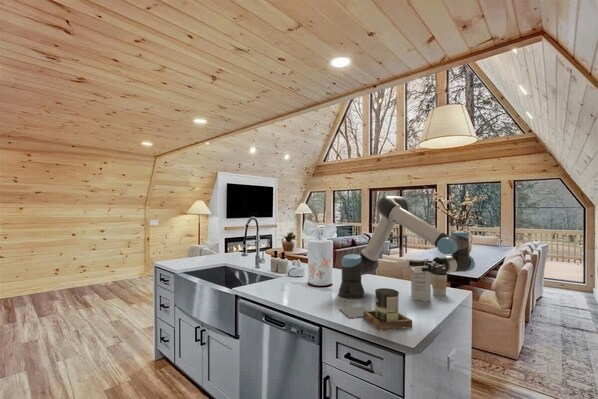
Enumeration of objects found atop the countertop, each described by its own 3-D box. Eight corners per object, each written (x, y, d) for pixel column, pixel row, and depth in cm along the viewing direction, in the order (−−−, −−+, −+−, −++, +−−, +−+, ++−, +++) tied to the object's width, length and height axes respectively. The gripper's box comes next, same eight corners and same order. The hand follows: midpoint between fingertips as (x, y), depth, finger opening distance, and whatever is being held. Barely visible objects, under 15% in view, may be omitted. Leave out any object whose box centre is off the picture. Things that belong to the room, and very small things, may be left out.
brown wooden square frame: (363, 317, 143) (363, 311, 143) (392, 315, 147) (392, 308, 147) (380, 330, 128) (380, 323, 128) (412, 327, 132) (412, 320, 132)
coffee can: (374, 325, 134) (374, 293, 135) (375, 317, 144) (375, 287, 144) (399, 328, 131) (399, 295, 132) (398, 319, 141) (398, 289, 141)
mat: (338, 309, 155) (338, 308, 155) (362, 307, 158) (362, 306, 158) (349, 318, 142) (349, 317, 142) (374, 316, 145) (374, 314, 145)
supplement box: (431, 301, 169) (431, 270, 170) (413, 300, 171) (413, 270, 172) (427, 296, 179) (427, 267, 179) (411, 295, 180) (410, 266, 181)
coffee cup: (446, 297, 177) (446, 271, 177) (430, 295, 181) (429, 269, 182) (448, 293, 184) (448, 268, 185) (432, 291, 189) (432, 267, 190)
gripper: (464, 278, 134) (423, 281, 129) (426, 267, 158) (390, 269, 153) (464, 261, 134) (423, 263, 129) (426, 253, 159) (390, 254, 153)
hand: (405, 266), depth 141 cm, fingers open, 13 cm apart
